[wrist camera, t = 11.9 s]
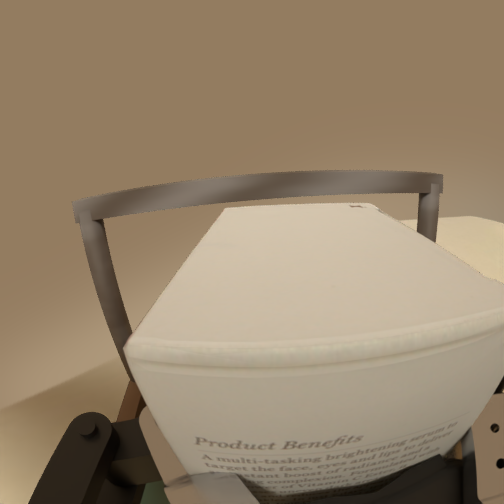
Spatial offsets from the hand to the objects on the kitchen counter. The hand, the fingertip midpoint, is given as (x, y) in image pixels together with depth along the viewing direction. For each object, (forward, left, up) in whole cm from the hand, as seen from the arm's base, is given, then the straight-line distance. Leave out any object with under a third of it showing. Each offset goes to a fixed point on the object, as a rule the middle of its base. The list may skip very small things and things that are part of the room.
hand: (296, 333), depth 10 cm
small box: (0, -2, -6) cm, 7 cm away
